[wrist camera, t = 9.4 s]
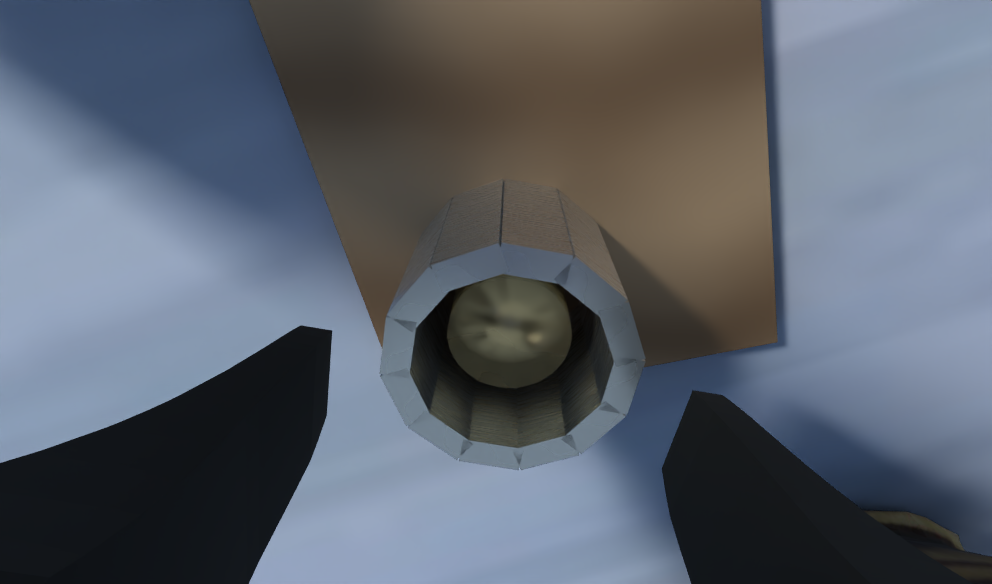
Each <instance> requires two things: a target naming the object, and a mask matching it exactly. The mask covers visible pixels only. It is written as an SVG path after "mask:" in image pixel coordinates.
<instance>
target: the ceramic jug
mask: <svg viewBox="0 0 992 584" xmlns="http://www.w3.org/2000/svg"><path fill="white" fill-rule="evenodd" d="M863 511H865V512H866V513H867V514H869V515H870V516H871V517H873V518H874V519H875V520H877V521H878V522H880V523H881V524H882V525H884V526H885V527H887V528H888V529H890V530H891V531H893V532H894V533H895V534H897V535H898V536H900V537H901V538H903V539H904V540H906V541H907V542H909V543H910V544H911V545H913V546H914V547H916V548H917V549H919V550H920V551H922V552H923V553H925V554H926V555H928V556H929V557H931V558H933V559H934V560H936V561H937V562H939V563H940V564H942V565H943V566H945V567H947V568H948V569H950V570H952V571H953V572H955V573H957V574H958V575H960V576H962V577H963V578H965V579H966V580H968V581H970V582H971V583H973V584H992V557H990V556H985V555H981V554H976V553H971V552H967V551H965V550H964V549H963V547H962V545H961V543H960V540H959V536H958V535H957V534H955V533H953V532H951V531H949V530H947V529H945V528H943V527H941V526H940V525H938V524H936V523H934V522H933V521H931V520H929V519H928V518H926V517H923V516H920V515H916V514H913V513H909V512H897V511H866V510H863Z"/></svg>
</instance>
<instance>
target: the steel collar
mask: <svg viewBox="0 0 992 584" xmlns="http://www.w3.org/2000/svg"><path fill="white" fill-rule="evenodd" d="M501 274H506V275H512V276H518V277H524V278H529V279H535V280H541V281H546V282H552V283H558V284H560V285H561V286H562V287H564V288H565V289H566V290H567V291H568V292H570V293H571V294H572V295H573V296H575V297H576V298H577V299H578V300H579V303H578V305H577V306H576V307H575V308H574V309H573V310H572V311H571V312H570V313H569V317H570V323H571V329H572V339H571V345H570V348H569V351H568V354H567V356H566V358H565V359H564V361H563V362H562V364H561V365H560V366H559V367H558V368H557V370H555V371H554V372H553V373H552V374H551V375H549V376H548V377H546V378H545V379H543V380H541V381H539V382H537V383H534V384H532V385H528V386H524V387H518V388H502V387H496V386H491V385H488V384H485V383H483V382H480V381H478V380H476V379H475V378H473V377H471V376H470V375H469V374H468V373H466V372H465V371H464V370H463V369H462V368H461V367H460V366H459V364H458V363H457V362H456V360H455V359H454V357H453V355H452V353H451V351H450V348H449V344H448V337H447V329H448V323H449V318H450V313H451V311H450V309H449V306H448V304H447V302H446V299H445V297H444V296H445V295H446V294H447V293H448V292H449V291H451V290H454V289H457V288H460V287H463V286H466V285H469V284H473V283H476V282H479V281H482V280H485V279H488V278H491V277H495V276H498V275H501ZM645 359H646V358H645V355H644V352H643V348H642V345H641V341H640V338H639V335H638V331H637V328H636V324H635V321H634V318H633V314H632V311H631V307H630V304H629V301H628V298H627V296H626V293H625V291H624V288H623V286H622V284H621V281H620V279H619V276H618V274H617V271H616V269H615V266H614V264H613V261H612V259H611V256H610V254H609V251H608V249H607V246H606V244H605V242H604V239H603V237H602V234H601V232H600V229H599V227H598V224H597V223H596V221H595V220H594V219H593V218H591V217H590V216H589V215H588V214H587V213H586V212H585V211H583V210H582V209H581V208H580V207H579V206H578V205H576V204H575V203H574V202H573V201H572V200H571V199H569V198H568V197H567V196H566V195H565V194H564V193H563V192H561V191H560V190H559V189H558V190H557V188H554V187H549V186H543V185H538V184H533V183H527V182H522V181H516V180H511V179H505V181H503V179H500V180H497V181H494V182H492V183H489V184H486V185H483V186H480V187H477V188H474V189H472V190H469V191H466V192H463V193H460V194H457V195H454V197H452V198H451V199H450V200H449V201H448V203H447V204H446V205H445V206H444V207H443V209H442V210H441V211H440V212H439V213H438V214H437V216H436V217H435V218H434V219H433V220H432V222H431V223H430V224H429V225H428V226H427V228H426V229H425V230H424V231H423V232H422V234H421V236H420V238H419V240H418V243H417V245H416V247H415V250H414V252H413V254H412V257H411V259H410V261H409V264H408V266H407V269H406V271H405V273H404V276H403V278H402V280H401V283H400V285H399V287H398V290H397V292H396V294H395V297H394V299H393V301H392V304H391V306H390V309H389V311H388V313H387V316H386V321H385V330H384V339H383V348H382V357H381V366H380V374H381V375H380V377H381V379H382V381H383V383H384V385H385V386H386V388H387V390H388V392H389V394H390V396H391V398H392V400H393V402H394V404H395V405H396V407H397V409H398V411H399V413H400V415H401V417H402V419H403V421H404V423H405V425H406V426H408V428H409V429H411V430H412V431H414V432H415V433H417V434H418V435H420V436H421V437H423V438H424V439H426V440H427V441H429V442H430V443H432V444H433V445H435V446H436V447H438V448H439V449H441V450H442V451H444V452H445V453H447V454H448V455H450V456H451V457H453V458H454V459H456V460H457V459H458V458H459V461H463V462H469V463H476V464H482V465H488V466H495V467H501V468H507V469H514V470H519V467H520V469H521V470H523V469H527V468H531V467H535V466H539V465H543V464H547V463H551V462H555V461H558V460H562V459H566V458H570V457H574V456H578V455H579V453H581V454H582V453H583V452H584V451H586V450H587V449H588V448H589V447H590V446H592V445H593V444H594V443H595V442H596V441H598V440H599V439H600V438H601V437H602V436H603V435H605V434H606V433H607V432H608V431H609V430H611V429H612V428H613V427H614V426H615V425H616V424H618V423H619V422H620V421H621V420H622V419H624V418H625V417H626V415H627V414H628V411H629V408H630V405H631V402H632V399H633V396H634V393H635V391H636V388H637V385H638V382H639V379H640V376H641V373H642V370H643V367H644V364H645ZM625 414H626V415H625Z"/></svg>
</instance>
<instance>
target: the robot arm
mask: <svg viewBox="0 0 992 584" xmlns="http://www.w3.org/2000/svg"><path fill="white" fill-rule="evenodd" d="M331 340H332V331H331V330H325V329H319V328H313V327H307V326H299V327H297V328H295V329H294V330H292V331H290V332H289V333H287V334H285V335H284V336H282V337H281V338H279V339H277V340H276V341H274V342H273V343H271V344H269V345H268V346H266V347H265V348H263V349H261V350H260V351H258V352H256V353H255V354H253V355H251V356H250V357H248V358H246V359H245V360H243V361H241V362H240V363H238V364H236V365H235V366H233V367H231V368H230V369H228V370H226V371H225V372H223V373H221V374H219V375H217V376H215V377H213V378H211V379H210V380H208V381H206V382H204V383H202V384H200V385H198V386H196V387H195V388H193V389H191V390H189V391H187V392H185V393H183V394H181V395H179V396H177V397H175V398H173V399H171V400H169V401H167V402H165V403H163V404H161V405H159V406H156V407H154V408H152V409H150V410H147V411H145V412H143V413H140V414H138V415H136V416H133V417H131V418H129V419H126V420H124V421H122V422H119V423H117V424H114V425H112V426H109V427H107V428H104V429H101V430H98V431H95V432H93V433H90V434H87V435H84V436H81V437H78V438H76V439H73V440H70V441H67V442H64V443H62V444H59V445H56V446H53V447H50V448H47V449H45V450H41V451H38V452H35V453H32V454H29V455H25V456H22V457H19V458H15V459H12V460H9V461H5V462H2V463H0V584H249V582H250V580H251V577H252V575H253V573H254V571H255V569H256V567H257V564H258V562H259V560H260V558H261V556H262V554H263V552H264V551H265V549H266V547H267V545H268V543H269V541H270V539H271V537H272V535H273V533H274V531H275V529H276V527H277V525H278V523H279V521H280V519H281V518H282V516H283V514H284V512H285V510H286V508H287V506H288V504H289V502H290V500H291V498H292V496H293V494H294V492H295V490H296V488H297V486H298V484H299V482H300V480H301V478H302V476H303V474H304V473H305V471H306V469H307V466H308V464H309V462H310V460H311V458H312V455H313V452H314V450H315V447H316V444H317V442H318V439H319V436H320V433H321V430H322V427H323V425H324V422H325V419H326V416H327V402H328V386H329V371H330V355H331ZM662 472H663V478H664V485H665V491H666V497H667V503H668V508H669V513H670V517H671V521H672V524H673V527H674V531H675V534H676V537H677V540H678V543H679V547H680V550H681V553H682V556H683V559H684V562H685V565H686V568H687V572H688V575H689V578H690V581H691V584H973V583H971V582H970V581H968V580H966V579H965V578H963V577H962V576H960V575H958V574H957V573H955V572H953V571H952V570H950V569H948V568H947V567H945V566H943V565H942V564H940V563H939V562H937V561H936V560H934V559H933V558H931V557H929V556H928V555H926V554H925V553H923V552H922V551H920V550H919V549H917V548H916V547H914V546H913V545H911V544H910V543H909V542H907V541H906V540H904V539H903V538H901V537H900V536H898V535H897V534H895V533H894V532H893V531H891V530H890V529H888V528H887V527H885V526H884V525H882V524H881V523H880V522H878V521H877V520H875V519H874V518H873V517H871V516H870V515H869V514H867V513H866V512H865V511H863V510H862V509H861V508H859V507H858V506H857V505H855V504H854V503H853V502H852V501H850V500H849V499H848V498H846V497H845V496H844V495H843V494H841V493H840V492H839V491H837V490H836V489H835V488H834V487H832V486H831V485H830V484H828V483H827V482H826V481H825V480H824V479H822V478H821V477H820V476H819V475H818V474H816V473H815V472H814V471H813V470H811V469H810V468H809V467H808V466H807V465H805V464H804V463H803V462H802V461H801V460H800V459H798V458H797V457H796V456H795V455H794V454H792V453H791V452H790V451H789V450H788V449H787V448H785V447H784V446H783V445H782V444H781V443H780V442H779V441H777V440H776V439H775V438H774V437H773V436H772V435H770V434H769V433H768V432H767V431H766V430H765V429H764V428H762V427H761V426H760V425H759V424H758V423H757V422H755V421H754V420H753V419H752V418H751V417H750V416H748V415H747V414H746V413H745V412H744V411H742V410H741V409H740V408H739V407H737V406H736V405H735V404H734V403H732V402H731V401H730V400H728V399H727V398H726V397H724V396H723V395H718V394H712V393H706V392H699V391H692V394H691V396H690V399H689V401H688V404H687V406H686V409H685V411H684V414H683V416H682V419H681V421H680V424H679V427H678V429H677V432H676V434H675V437H674V439H673V442H672V444H671V447H670V449H669V452H668V454H667V457H666V459H665V462H664V464H663V467H662Z"/></svg>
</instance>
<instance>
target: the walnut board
mask: <svg viewBox="0 0 992 584" xmlns="http://www.w3.org/2000/svg"><path fill="white" fill-rule="evenodd" d="M249 1H250V4H251V7H252V9H253V12H254V14H255V17H256V20H257V22H258V25H259V28H260V30H261V33H262V35H263V38H264V41H265V43H266V46H267V48H268V51H269V54H270V56H271V59H272V62H273V64H274V67H275V69H276V72H277V75H278V77H279V80H280V83H281V85H282V88H283V90H284V93H285V96H286V98H287V101H288V103H289V106H290V109H291V111H292V114H293V117H294V119H295V122H296V124H297V127H298V130H299V132H300V135H301V137H302V140H303V143H304V145H305V148H306V151H307V153H308V156H309V158H310V161H311V164H312V166H313V169H314V172H315V174H316V177H317V179H318V182H319V185H320V187H321V190H322V192H323V195H324V198H325V200H326V203H327V206H328V208H329V211H330V213H331V216H332V219H333V221H334V224H335V227H336V229H337V232H338V234H339V237H340V240H341V242H342V245H343V247H344V250H345V253H346V255H347V258H348V261H349V263H350V266H351V268H352V271H353V274H354V276H355V279H356V281H357V284H358V287H359V289H360V292H361V295H362V297H363V300H364V302H365V305H366V308H367V310H368V313H369V316H370V318H371V321H372V323H373V326H374V329H375V331H376V334H377V336H378V339H379V342H380V344H381V347H382V348H383V339H384V330H385V321H386V316H387V313H388V311H389V309H390V306H391V304H392V301H393V299H394V297H395V294H396V292H397V290H398V287H399V285H400V283H401V280H402V278H403V276H404V273H405V271H406V269H407V266H408V264H409V261H410V259H411V257H412V254H413V252H414V250H415V247H416V245H417V243H418V240H419V238H420V236H421V234H422V232H423V231H424V230H425V229H426V228H427V226H428V225H429V224H430V223H431V222H432V220H433V219H434V218H435V217H436V216H437V214H438V213H439V212H440V211H441V210H442V209H443V207H444V206H445V205H446V204H447V203H448V201H449V200H450V199H451V198H452V197H454V195H457V194H460V193H463V192H466V191H469V190H472V189H474V188H477V187H480V186H483V185H486V184H489V183H492V182H494V181H497V180H500V179H503V181H505V179H511V180H516V181H522V182H527V183H533V184H538V185H543V186H549V187H554V188H557V190H558V189H559V190H560V191H561V192H563V193H564V194H565V195H566V196H567V197H568V198H569V199H571V200H572V201H573V202H574V203H575V204H576V205H578V206H579V207H580V208H581V209H582V210H583V211H585V212H586V213H587V214H588V215H589V216H590V217H591V218H593V219H594V220H595V221H596V223H597V224H598V227H599V229H600V232H601V234H602V237H603V239H604V242H605V244H606V246H607V249H608V251H609V254H610V256H611V259H612V261H613V264H614V266H615V269H616V271H617V274H618V276H619V279H620V281H621V284H622V286H623V288H624V291H625V293H626V296H627V298H628V301H629V304H630V307H631V311H632V314H633V318H634V321H635V324H636V328H637V331H638V335H639V338H640V341H641V345H642V348H643V352H644V355H645V358H646V359H645V364H644V367H648V366H654V365H659V364H664V363H670V362H675V361H680V360H685V359H691V358H696V357H701V356H707V355H712V354H717V353H723V352H728V351H733V350H739V349H744V348H749V347H754V346H760V345H765V344H770V343H776V342H777V322H776V301H775V280H774V260H773V239H772V218H771V198H770V177H769V156H768V136H767V115H766V94H765V74H764V53H763V32H762V12H761V0H249ZM455 290H456V289H454V290H451V291H449V292H448V293H447V294H446V295H445V296H444V297H445V299H446V302H447V304H448V306H449V309H450V311H451V309H452V304H453V299H454V295H455ZM564 290H565V296H566V301H567V307H568V312H569V313H570V312H571V311H572V310H573V309H574V308H575V307H576V306H577V305H578V303H579V300H578V299H577V298H576V297H575V296H573V295H572V294H571V293H570V292H568V291H567V290H566V289H565V288H564Z"/></svg>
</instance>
